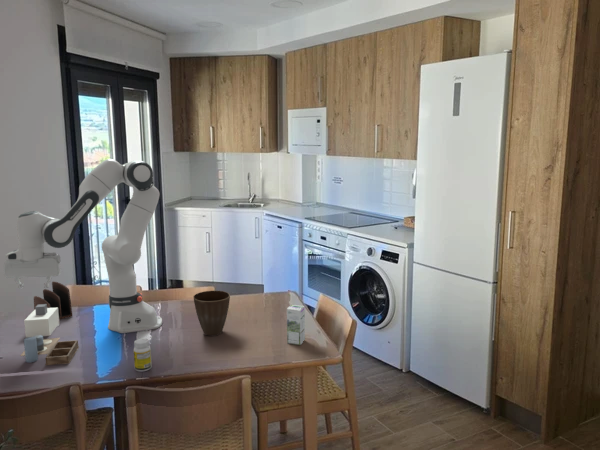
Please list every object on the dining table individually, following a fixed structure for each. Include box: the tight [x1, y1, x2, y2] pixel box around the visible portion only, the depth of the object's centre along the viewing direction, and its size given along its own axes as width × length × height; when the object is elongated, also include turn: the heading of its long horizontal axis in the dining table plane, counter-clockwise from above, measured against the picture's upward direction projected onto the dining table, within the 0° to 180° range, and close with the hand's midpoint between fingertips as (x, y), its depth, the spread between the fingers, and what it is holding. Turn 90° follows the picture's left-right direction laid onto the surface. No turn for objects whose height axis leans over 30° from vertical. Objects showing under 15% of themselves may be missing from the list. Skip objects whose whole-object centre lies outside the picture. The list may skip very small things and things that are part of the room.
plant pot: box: [192, 290, 231, 337], centre depth 216 cm, size 15×15×16 cm
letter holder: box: [33, 280, 73, 321], centre depth 241 cm, size 10×20×14 cm, turn 45°
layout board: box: [19, 335, 61, 357], centre depth 201 cm, size 10×16×6 cm, turn 11°
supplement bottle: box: [133, 338, 152, 372], centre depth 183 cm, size 6×6×10 cm
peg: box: [23, 337, 39, 363], centre depth 188 cm, size 4×4×9 cm
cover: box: [23, 304, 60, 338], centre depth 218 cm, size 9×15×12 cm, turn 11°
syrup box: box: [286, 304, 306, 346], centre depth 205 cm, size 6×6×14 cm
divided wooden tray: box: [44, 339, 80, 366], centre depth 192 cm, size 8×15×4 cm, turn 11°
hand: (34, 287), depth 205 cm, fingers open, 8 cm apart
